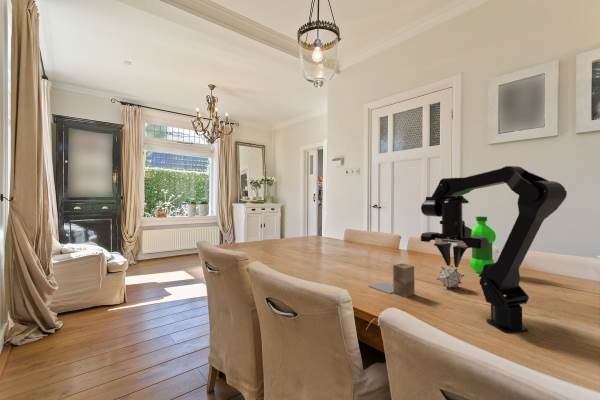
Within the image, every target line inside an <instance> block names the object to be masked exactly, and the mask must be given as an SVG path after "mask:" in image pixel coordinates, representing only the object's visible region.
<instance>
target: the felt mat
mask: <svg viewBox="0 0 600 400" xmlns="http://www.w3.org/2000/svg"><path fill="white" fill-rule="evenodd" d="M368 287H369V288H371V289H373V290H377V291H380V292H383V293H387V294H390V295H391V294H394V287H393V285H392V284H389V283H386V282H384V281H381V282H378V283H374V284H370V285H368Z"/></svg>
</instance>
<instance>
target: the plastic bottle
mask: <svg viewBox="0 0 600 400" xmlns="http://www.w3.org/2000/svg"><path fill="white" fill-rule="evenodd" d="M475 221H476V222H477V224H476V225H474V226H473V227H472V228H471V229H472V233H471V237H472V236H478V237H486V238H487V239H488V241H489V247H485V248H481V249H478V248H471V258H470V259H469V266H470V268H471V269H472V270H473V271H474V272H475V273H477V274H481V273H482V271H483V267H484V265H485V264H492V263H495V260H494V259H493V243H494V242H495V241H496V232H495V231H494V229H492V228H491V227H490V226H488V225H487V221H488V216H475Z"/></svg>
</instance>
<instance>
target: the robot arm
mask: <svg viewBox="0 0 600 400" xmlns="http://www.w3.org/2000/svg"><path fill="white" fill-rule="evenodd" d="M503 184H506V185H507V186H508V188H509V189H510V190H511V191H513V192H514V193H515V194H516V195H518V198H517V208H518V215H517V218H516V219H515V222H514V223H513V226H512V229H511V230H510V233H509V235H508V237H507V240H506V242H505V243H504V245H503V247H502V249H501V252H500V254H499V256H498V258H497V260H496V261H495V262H494V263H492V264H485V265H484V267H483V271H482V273H479V274H478V277H479V278H480V279H479V285H480V288H481V290H482V294H483V295H484V300H485V302H486V303H487V304H490V319H489V318H488V319H486V322H487V323H488V324H490V325H491V326H493V327H495V328H497V329H498V330H500V331H502V332H504V333H519V332H520V333H521V332H529V328H528V327H526V326H524V325H523V306H522V305H527V303H528V301H529V299H530V297H529V295H528V294H527V293H526V292H525V291H524V289H523V288H522V287H521V286H520V281H521V276H520V268H521V266H522V264H523V262H524V259H525V257H526V256H527V254H528V251H529V250H530V248H531V246H532V244H533V242H534V240H535V238H536V236H537V234H538V232H539V230H540V228H541V226H542V225H543V222H544V221H545V220H546V219H547V218H548V217H550V216H551V215H552V214H553V213H554V212H555V211H557V210H558V209H559V207H560V206H561V205H562V204H563V203H564V201H565V199H566V198H567V194H568V193H567V190H566V188H565V186H564V185H563V184H561V183H560V182H558V181H553V180H548V179H546V178H544V177H542V176H539V175H537V174H534V173H533V172H530V171H528V170H526V169H524V168H523V167H521V166H517V165H516V166H515V165H510V166H509V165H506V166H504V167H502V168H497V169H494V170H490V171H484V172H482V173H477V174H472V175H470V176H465V177H446V178H441V179H440V180H439V183H438V185H437V186H436V188H435V190H434V192H433V193H432V196H426V197H425V200H424V201H423V202H422V203H421V205H420V210H421V213H422V214H423V215H424V216H426V217H435V218H436V217H437V218H438V217H440V218H441V220H439V225H441V233H440V232H434V231H429V232H428V231H427V232H423V233H421V235H420V242H424V243H430V242H431V241H435V242H434V243H433V246H435V247H436V248H437V249H438V251H439V252H440V255H441V256H442V259H443V260H444V262H445V264H446V265H447V266H448V267H451V260H452V259H451V247H452V250H453V252H452V253H453V264H454V268H455V269H458V267H459V265H460V263H461V260H462V258H463V257H464V256H463V255H464V253H466V251H467V249H472V248H478V249H481V248H485V247H489V241H488V239H487V238H486V237H478V236H472V237H471V233H472V228H471V227H468V226H466V223H465V220H463V204H469V200H468V199H466V198H465V197H464V195H466V194H468V193H470V192H472V191H474V190H477V189H483V188H488V187H489V188H490V187H493V186H497V185H498V186H499V185H503ZM452 243H456V245H454V246H452Z"/></svg>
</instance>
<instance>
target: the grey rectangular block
mask: <svg viewBox="0 0 600 400" xmlns="http://www.w3.org/2000/svg"><path fill="white" fill-rule="evenodd" d="M392 270H393V272H392V274H393V275H392V276H393V278H392V280H393V281H392V282H393V287H394V293H393V294H395V295H398V296H400V297H404V298H408V297H411V296H414V295H415V265H411V264H406V263H397V264H394V265H392Z"/></svg>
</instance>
